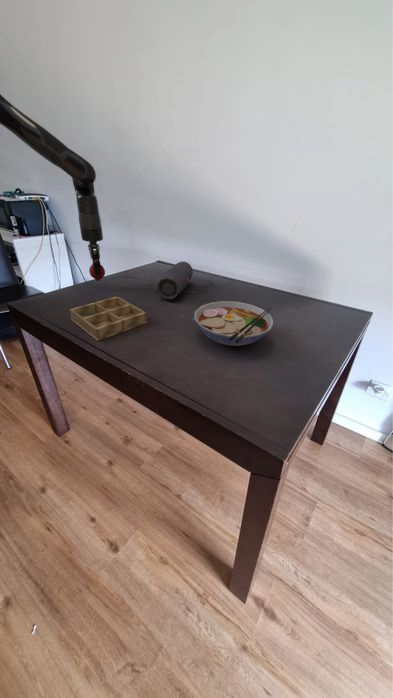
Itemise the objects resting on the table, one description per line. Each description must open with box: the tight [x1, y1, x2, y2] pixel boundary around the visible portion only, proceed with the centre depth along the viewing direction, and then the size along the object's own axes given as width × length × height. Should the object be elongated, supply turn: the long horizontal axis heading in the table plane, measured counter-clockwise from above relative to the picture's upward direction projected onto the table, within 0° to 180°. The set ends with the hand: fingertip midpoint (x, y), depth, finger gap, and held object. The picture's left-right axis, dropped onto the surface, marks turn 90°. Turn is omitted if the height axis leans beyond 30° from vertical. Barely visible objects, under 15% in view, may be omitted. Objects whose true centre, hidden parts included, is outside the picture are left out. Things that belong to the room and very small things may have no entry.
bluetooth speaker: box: [156, 261, 194, 300], centre depth 113 cm, size 23×9×10 cm, turn 167°
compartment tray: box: [68, 296, 148, 342], centre depth 91 cm, size 17×17×4 cm
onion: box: [88, 263, 106, 282], centre depth 112 cm, size 6×6×8 cm
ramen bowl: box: [194, 300, 274, 347], centre depth 84 cm, size 25×23×8 cm
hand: (97, 271), depth 112 cm, fingers closed on onion, 6 cm apart
